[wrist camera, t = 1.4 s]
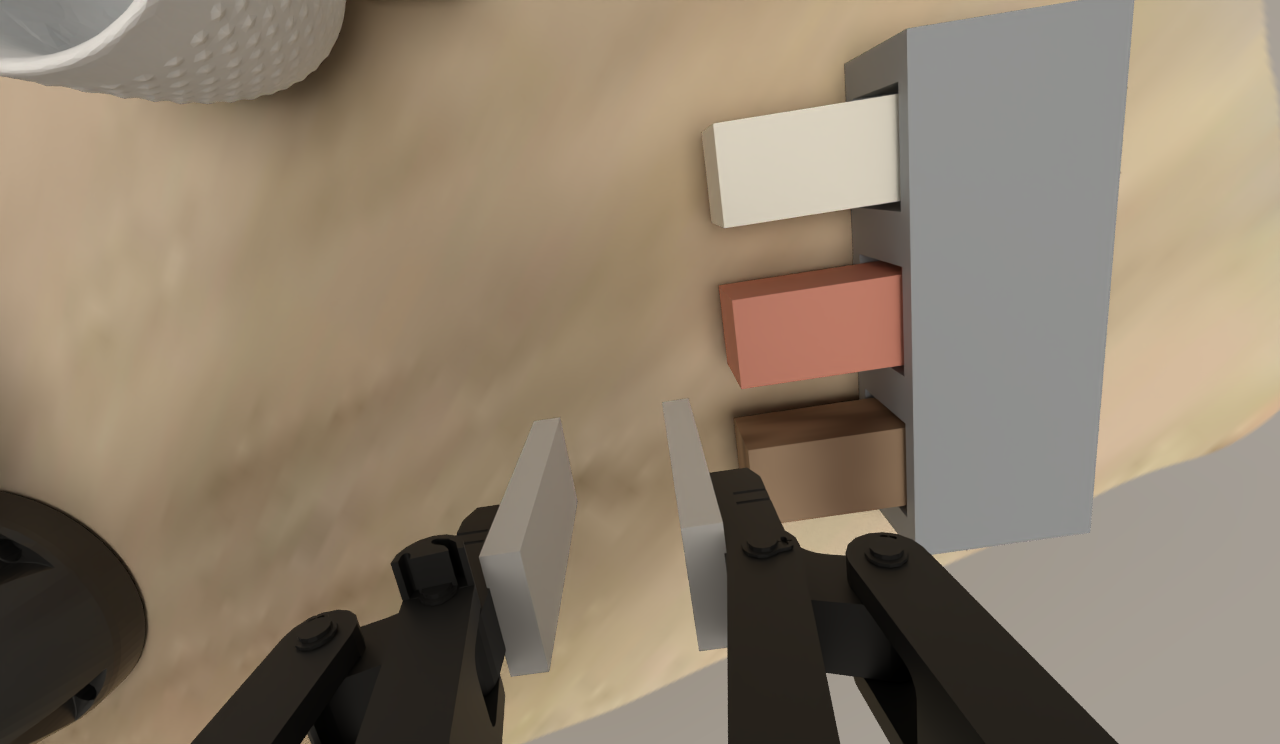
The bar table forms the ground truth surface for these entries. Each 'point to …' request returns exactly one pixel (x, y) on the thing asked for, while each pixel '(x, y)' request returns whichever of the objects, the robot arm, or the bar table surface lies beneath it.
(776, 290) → the brick peg
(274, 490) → the bar table surface
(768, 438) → the walnut peg
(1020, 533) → the socket block
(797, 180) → the cream peg
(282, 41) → the mug
